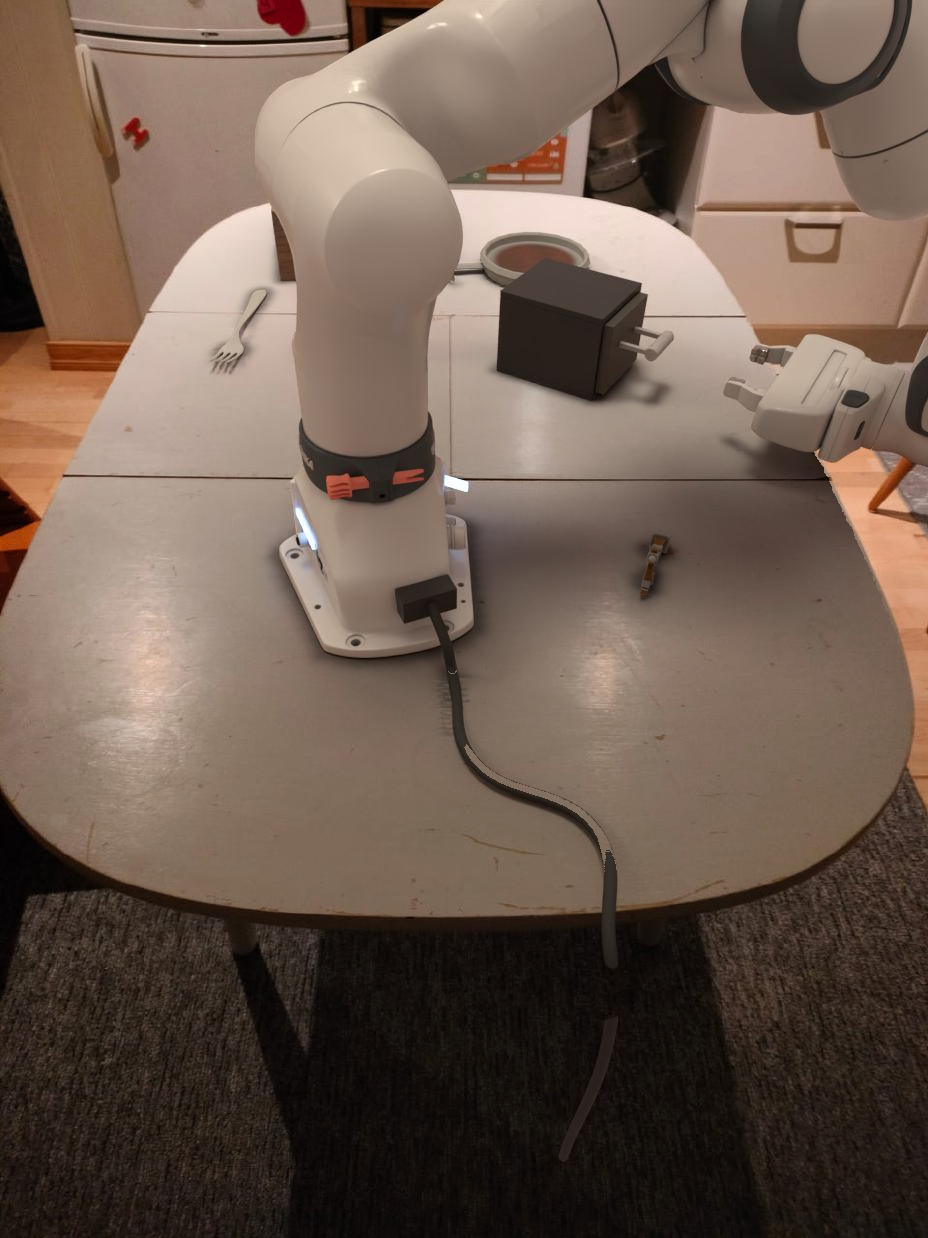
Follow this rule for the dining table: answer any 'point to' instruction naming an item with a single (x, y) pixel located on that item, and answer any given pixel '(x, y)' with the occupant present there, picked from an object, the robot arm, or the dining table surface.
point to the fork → (234, 343)
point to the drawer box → (558, 324)
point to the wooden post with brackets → (654, 558)
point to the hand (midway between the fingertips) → (739, 367)
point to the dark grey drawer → (627, 342)
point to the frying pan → (525, 254)
